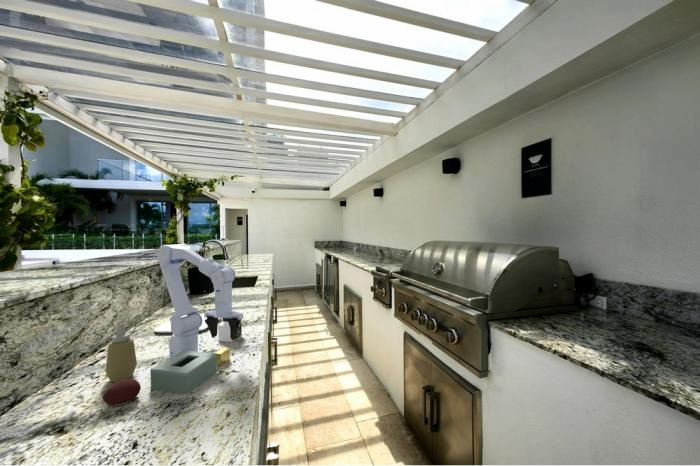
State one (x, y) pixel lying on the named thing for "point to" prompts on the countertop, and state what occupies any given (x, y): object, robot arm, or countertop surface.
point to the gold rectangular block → (222, 356)
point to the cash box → (183, 372)
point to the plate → (167, 326)
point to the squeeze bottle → (121, 356)
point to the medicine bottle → (228, 331)
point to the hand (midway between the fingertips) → (223, 337)
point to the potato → (121, 392)
